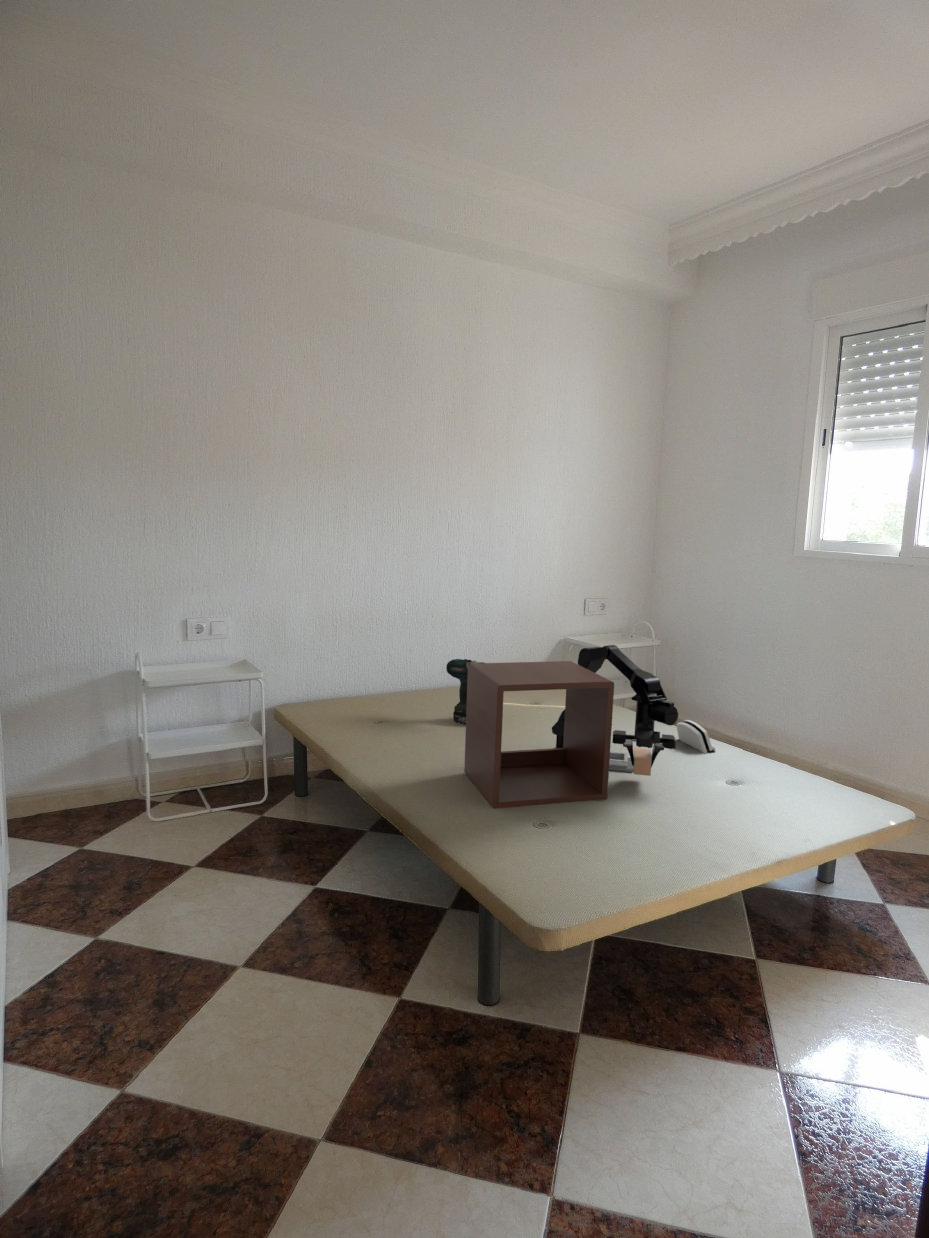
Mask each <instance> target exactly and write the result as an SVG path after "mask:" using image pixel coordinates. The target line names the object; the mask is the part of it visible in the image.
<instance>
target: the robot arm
mask: <svg viewBox="0 0 929 1238" xmlns="http://www.w3.org/2000/svg"><path fill="white" fill-rule="evenodd" d="M606 660H607V661H608V662H609V663H610V664H611V665H613V667H615V668H616V670H618V671H619V672H620V673H621V674H622V675H623V676H624V677H625V678H627V680H628V681H629V684H630V687H631V689H632V690H633V691H634V693H635V695H633V696H632V697H631V699H630V700H632V701H635V702H636V708H635V721H634V723H635V724H634V734H627V731H626V730H619V729H615V730H613V731H612V739H611V740H612V741H611V742H612V744H614V745H616V744H617V745H622V746H623V748H626V750H627V751H628V755H629V758H630V759H631V762H632V766H634V744H633V742H635V745H636V747H638V748H648V749H651V748H652V750H651V759H652V762H651V768H652V767H653V765H654V763H655V760H656V759H657V756H658V755H659V753H660V752H661V751H665V749H669V750H670V749H671V750H676V744H677V741H676V737H675V735H673V734H663V733H661V731H655V724H656V723H655V722H658V723H660V724H663V725H666V726H673V725H675V724H676V722H677V721H678V719H679V712H678V709H677V708H676V707H675V702H674V701H668V698H667V696H666V693H665V691H664V689H663V687H662V684H661V681H660V679H659V677H657V676H656V675H654V674H653V673H651V672H648V671H645V670H643V669H641V668H640V667H639V666H638V665H637V664H635V663H634V662H633V661H632V660H631V659H630V658H629V657H628V656H627V655H625V654H624V652H622V651H621V650H620V649H619V647H618V646H617V645H615V644H608V645H604V646H592V647H584V648H582V649H580V650H579V652H578V657H577V664H578V665H580V666H582V667H584V668H586V669H588V670H590V671H592V672H594V673H596V674H597V672H598V671H599V670H600V669H601V668H602V666H603V664H604V662H605V661H606ZM564 721H565V709H564V710H562V712H561V713H560V715H559V717H558V719H557V721H556V722H555V723H554V724H553V725H552V726H551V733H552V734H554V735H555V736H556V739H555V741H556V742H555V748H563V739H564Z"/></svg>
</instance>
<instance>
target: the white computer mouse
mask: <svg viewBox="0 0 929 1238" xmlns="http://www.w3.org/2000/svg"><path fill="white" fill-rule="evenodd" d="M675 724H676V725H675V726H676V731H677V736H678V740H679V741H681V742H683V743H684V744H686V745H688V744H689V745H688V746H691V747H692V746H693V747H692V748H694V749H696V750H697V749H698V751H699V752H702V753H703V754H707V753H708V751H710V752H711V751H712V752H713V753H716V752H717V750H716V747H715V746H713V745H712V743H711V739H710V737H709V734H708V731H707V730H706V729H705V728H704V727H703V726H702V725H700V724H698V723H697V722H695V721H693V720H691V719H690V720H689V719H685V720H682V721H679V722H677V723H675Z"/></svg>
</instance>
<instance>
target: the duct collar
mask: <svg viewBox="0 0 929 1238" xmlns="http://www.w3.org/2000/svg"><path fill="white" fill-rule="evenodd" d="M609 771H611V772H612V771H613V772H622V773H623V772H624V773H632V774H634V773H633V766H632V762H631V759H630V757H628V753H627V752H620V751H610V761H609Z"/></svg>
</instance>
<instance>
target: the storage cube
mask: <svg viewBox="0 0 929 1238" xmlns="http://www.w3.org/2000/svg"><path fill="white" fill-rule="evenodd" d="M551 690H553V691H554V690H556V691H557V690H565V703H564V704H565V705H564V710H565V721H564V739H563V748H556V747H555V748H536V749H523V750H522V749H521V750H520V749H519V750H506V751H504V750H502V743H503V741H502V739H503V712H504V693H505V692H523V691H528V692H529V691H551ZM614 693H615V682H613V681H612V680H610V679H608V678H606V677H604V676H602V675H601V674H600V675H599V674H597V672H596V673H594V672H592V671H590V670H588V669H586V668H584V667H582V666H580V665H578V663H576V662H573V661H572V660H564V661H563V660H559V661H525V662H524V661H523V662H516V661H515V662H514V661H513V662H483V663H474V664H469V665H468V679H467V708H466V724H465V740H464V741H465V742H464V767H463V768H464V770H463V771H464V773H465V774H466V776H467V777H468V778H469V779H470V781H471V782H472V783H473V784H474V785H475V787H476V788H477V789H478V790H479V791H480V793H481V794H482V795H483V796H484V798H485V799H486V800H487V802H488V803H489V804H490V806H492V807H493V809H496V810H497V809H505V808H518V807H531V806H542V805H543V806H544V805H556V804H558V805H559V804H566V803H567V804H569V803H581V802H592V801H605V800H607V799H608V794H609V793H608V790H609V775H610V774H609V773H610V770H609V761H610V752H611V742H612V741H611V740H612V726H613V711H614V695H615V694H614Z"/></svg>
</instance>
